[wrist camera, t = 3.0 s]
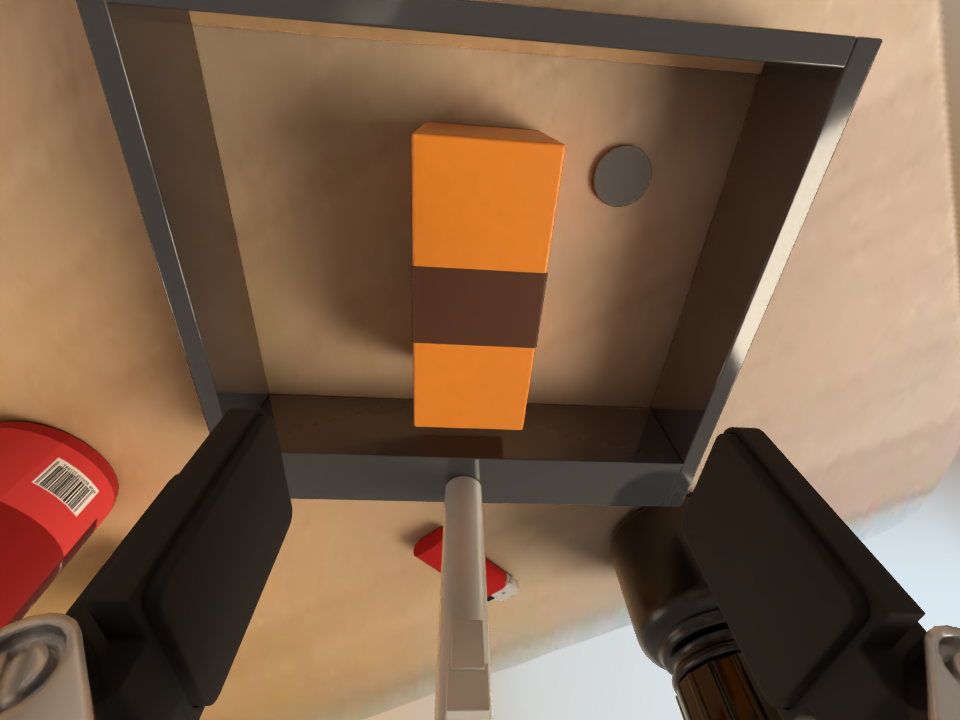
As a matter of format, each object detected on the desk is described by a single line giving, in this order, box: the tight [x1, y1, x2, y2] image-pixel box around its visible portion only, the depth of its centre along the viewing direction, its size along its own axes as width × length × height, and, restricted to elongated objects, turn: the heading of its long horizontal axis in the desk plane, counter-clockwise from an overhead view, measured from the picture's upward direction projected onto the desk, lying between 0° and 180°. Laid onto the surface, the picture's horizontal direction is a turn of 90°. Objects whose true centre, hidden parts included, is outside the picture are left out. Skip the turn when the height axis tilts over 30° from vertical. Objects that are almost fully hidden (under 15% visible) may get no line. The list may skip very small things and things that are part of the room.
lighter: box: [414, 528, 519, 602], centre depth 31 cm, size 3×1×8 cm
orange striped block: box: [412, 122, 566, 430], centre depth 18 cm, size 11×5×5 cm, turn 176°
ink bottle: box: [610, 496, 782, 720], centre depth 26 cm, size 10×9×12 cm
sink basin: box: [76, 0, 882, 720], centre depth 15 cm, size 20×23×15 cm
